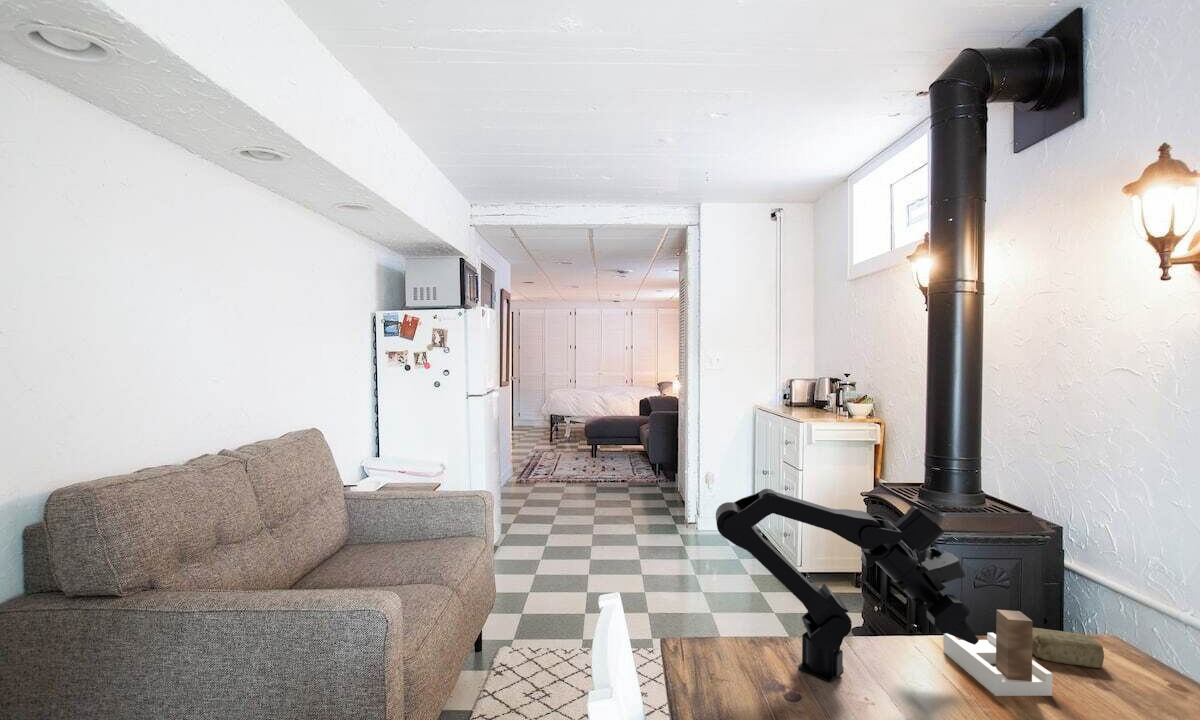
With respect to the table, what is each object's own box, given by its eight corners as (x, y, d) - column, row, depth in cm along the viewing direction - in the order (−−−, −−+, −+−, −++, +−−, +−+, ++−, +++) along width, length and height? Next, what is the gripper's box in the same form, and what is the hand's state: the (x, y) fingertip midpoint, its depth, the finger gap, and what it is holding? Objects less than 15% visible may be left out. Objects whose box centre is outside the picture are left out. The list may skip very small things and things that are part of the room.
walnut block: (1007, 679, 102) (1008, 619, 102) (995, 667, 106) (996, 609, 106) (1031, 681, 101) (1032, 621, 101) (1019, 669, 105) (1019, 611, 105)
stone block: (1106, 672, 109) (1106, 646, 109) (1036, 662, 113) (1036, 637, 113) (1090, 656, 115) (1091, 632, 115) (1024, 647, 119) (1024, 624, 118)
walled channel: (995, 695, 101) (995, 673, 101) (943, 651, 116) (943, 632, 116) (1052, 695, 101) (1052, 673, 101) (992, 651, 116) (993, 632, 116)
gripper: (957, 557, 97) (1027, 626, 95) (915, 525, 115) (973, 582, 113) (908, 599, 98) (976, 668, 96) (874, 560, 116) (930, 617, 115)
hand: (964, 630), depth 105 cm, fingers open, 9 cm apart
